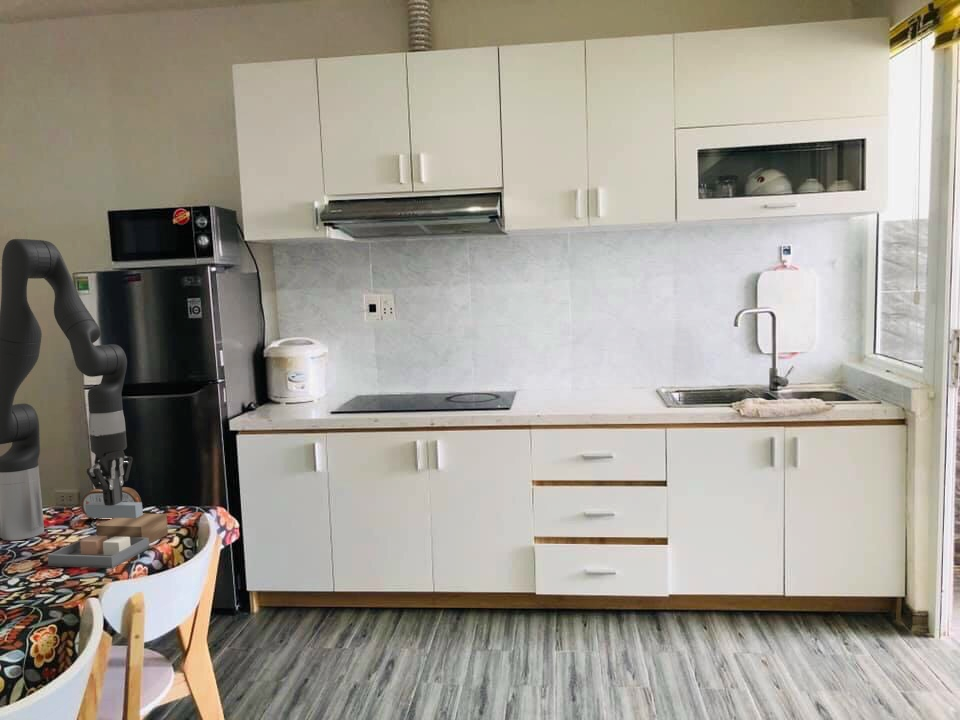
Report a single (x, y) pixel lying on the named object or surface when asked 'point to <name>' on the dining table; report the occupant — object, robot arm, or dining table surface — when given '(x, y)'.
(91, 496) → the tin
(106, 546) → the tile
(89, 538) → the tile
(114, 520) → the tan slab
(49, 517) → the dining table surface
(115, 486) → the grey t-shaped tool
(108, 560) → the box
